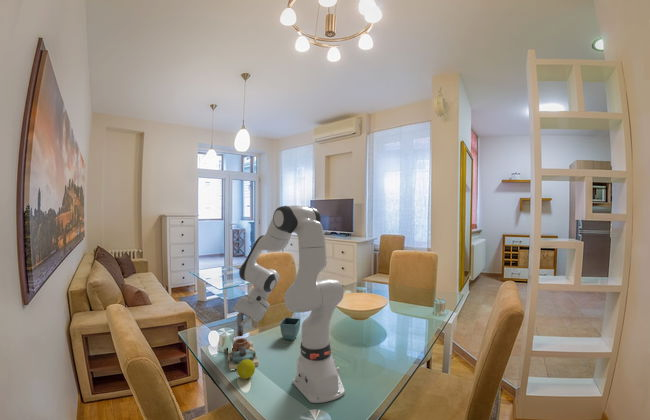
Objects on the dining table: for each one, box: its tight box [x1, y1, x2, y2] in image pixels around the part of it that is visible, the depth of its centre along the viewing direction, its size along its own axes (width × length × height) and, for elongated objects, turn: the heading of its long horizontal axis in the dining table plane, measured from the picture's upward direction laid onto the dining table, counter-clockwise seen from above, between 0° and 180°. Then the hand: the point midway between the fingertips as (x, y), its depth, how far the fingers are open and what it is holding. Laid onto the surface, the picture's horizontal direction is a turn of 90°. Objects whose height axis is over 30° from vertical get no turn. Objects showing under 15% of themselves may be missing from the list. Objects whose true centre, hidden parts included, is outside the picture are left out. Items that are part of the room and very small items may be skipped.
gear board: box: [227, 337, 259, 370], centre depth 135 cm, size 22×12×6 cm, turn 22°
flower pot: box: [279, 317, 301, 341], centre depth 154 cm, size 9×9×9 cm
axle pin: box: [236, 313, 244, 337], centre depth 140 cm, size 3×3×10 cm
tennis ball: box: [236, 359, 256, 380], centre depth 119 cm, size 7×7×7 cm
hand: (239, 323), depth 140 cm, fingers closed on axle pin, 3 cm apart
